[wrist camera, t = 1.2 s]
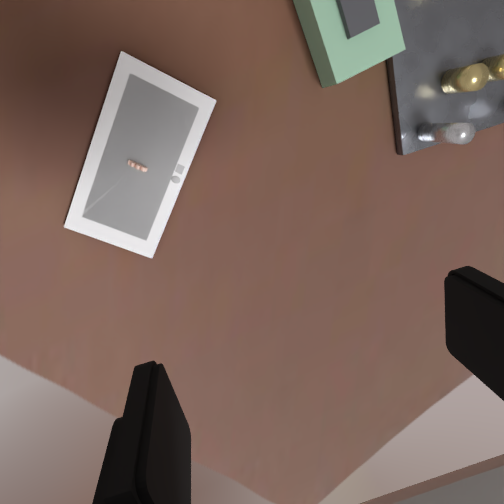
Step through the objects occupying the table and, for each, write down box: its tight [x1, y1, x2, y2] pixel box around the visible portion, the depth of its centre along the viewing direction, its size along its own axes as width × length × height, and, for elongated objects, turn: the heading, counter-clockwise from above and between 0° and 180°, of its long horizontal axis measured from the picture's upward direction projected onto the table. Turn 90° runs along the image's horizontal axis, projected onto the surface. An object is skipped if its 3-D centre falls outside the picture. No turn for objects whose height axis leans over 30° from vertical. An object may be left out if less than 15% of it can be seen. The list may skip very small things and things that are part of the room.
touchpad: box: [64, 51, 217, 258], centre depth 29 cm, size 8×15×2 cm, turn 154°
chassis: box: [386, 0, 504, 155], centre depth 27 cm, size 18×14×6 cm
